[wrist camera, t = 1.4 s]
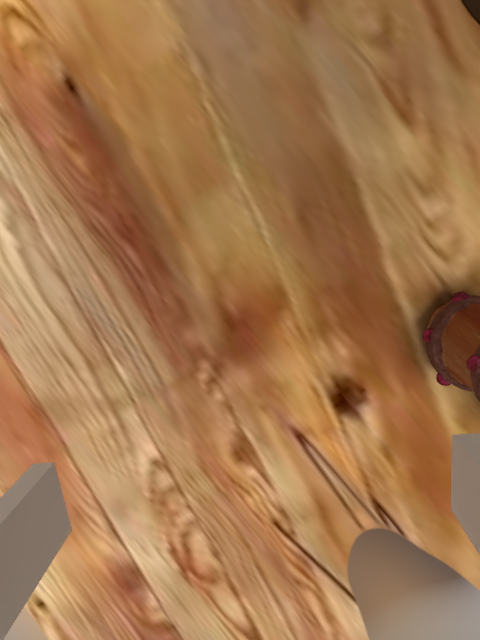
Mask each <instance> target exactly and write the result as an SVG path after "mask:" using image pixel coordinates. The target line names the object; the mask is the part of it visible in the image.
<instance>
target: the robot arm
mask: <svg viewBox="0 0 480 640" xmlns="http://www.w3.org/2000/svg"><path fill="white" fill-rule="evenodd" d="M463 1H464V3H465V4H466V6H467V7H468V9H469V10H470V12H471V13H472V14H473V16H474V17H475V18H476V19H477V20H478V21H479V22H480V0H463ZM451 510H452V512H453V513H454V515H455V517H456V518H457V520H458V521H459V523H460V524H461V526H462V528H463V529H464V531H465V532H466V534H467V536H468V537H469V539H470V540H471V542H472V543H473V545H474V547H475V548H476V550H477V551H478V553H479V554H480V435H479V434H478V433H474V434H459V435H452V483H451ZM71 530H72V528H71V524H70V520H69V516H68V512H67V509H66V505H65V501H64V497H63V494H62V490H61V486H60V482H59V478H58V475H57V471H56V467H55V463H54V462H53V463H39V464H33V465H32V466H31V467H30V468H29V469H28V470H27V471H26V472H25V473H24V474H23V475H22V476H21V477H20V478H19V479H18V480H17V481H16V483H15V484H14V485H13V486H12V487H11V488H10V489H9V490H8V491H7V492H6V493H5V494H4V495H3V496H2V497H1V498H0V640H3V639H4V637H5V636H6V634H7V632H8V631H9V629H10V628H11V626H12V625H13V623H14V621H15V620H16V618H17V617H18V615H19V613H20V612H21V610H22V609H23V607H24V605H25V604H26V602H27V601H28V599H29V597H30V596H31V594H32V593H33V591H34V589H35V588H36V586H37V585H38V583H39V581H40V580H41V578H42V577H43V575H44V573H45V572H46V570H47V569H48V567H49V566H50V564H51V562H52V561H53V559H54V558H55V556H56V554H57V553H58V551H59V550H60V548H61V546H62V545H63V543H64V542H65V540H66V538H67V537H68V535H69V534H70V532H71Z"/></svg>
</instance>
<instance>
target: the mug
mask: <svg viewBox="0 0 480 640" xmlns="http://www.w3.org/2000/svg"><path fill="white" fill-rule="evenodd" d="M423 339H424V340H425V341H426V348H427V353H428V357H429V359H430V361H431V363H432V365H433V367H434V368H435V369H436V371H437V372H438V374H437V378H436V379H437V382H438V383H439V384H441V385H444V386H447V385H450V384H453V385H455V386H457V387H459V388H461V389H464V390H468V391H474V392H475V395H476V397H477V398H478V400H479V401H480V296H469V295H468V294H467V293H465V292H458V293H455V295H454V296H453V299H452V300H451V301H450V302H448V303H446V304H444V305H442V306H440V307H439V308H438V309H437V310H436V311H435V313H434V314H433V315H432V317H431V319H430V321H429V324H428V326H427V329H426V330H425V332H424V334H423Z"/></svg>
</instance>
